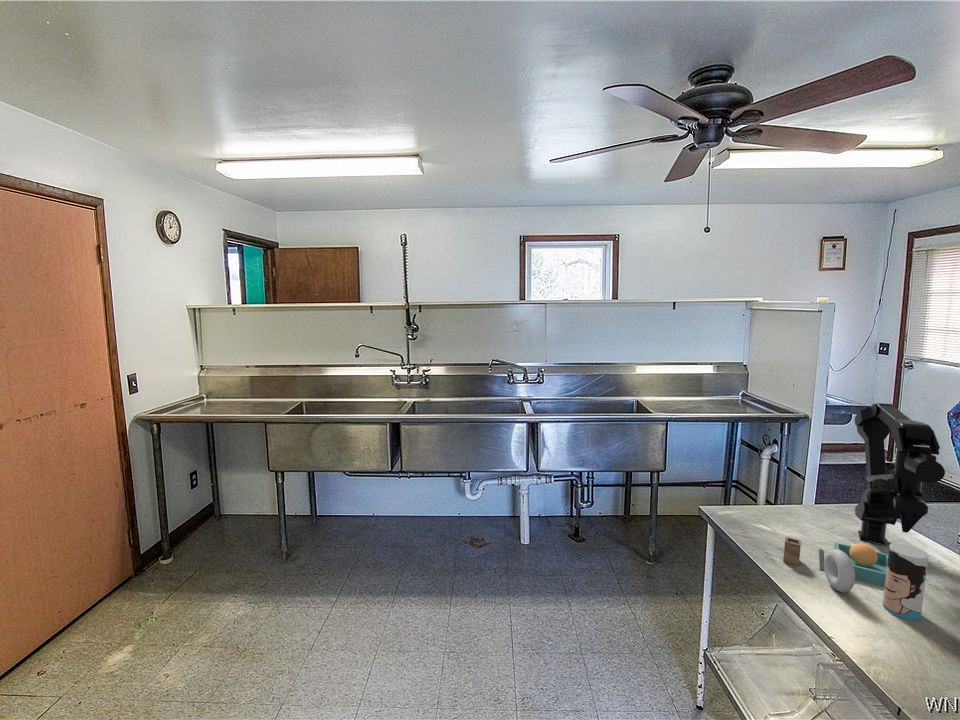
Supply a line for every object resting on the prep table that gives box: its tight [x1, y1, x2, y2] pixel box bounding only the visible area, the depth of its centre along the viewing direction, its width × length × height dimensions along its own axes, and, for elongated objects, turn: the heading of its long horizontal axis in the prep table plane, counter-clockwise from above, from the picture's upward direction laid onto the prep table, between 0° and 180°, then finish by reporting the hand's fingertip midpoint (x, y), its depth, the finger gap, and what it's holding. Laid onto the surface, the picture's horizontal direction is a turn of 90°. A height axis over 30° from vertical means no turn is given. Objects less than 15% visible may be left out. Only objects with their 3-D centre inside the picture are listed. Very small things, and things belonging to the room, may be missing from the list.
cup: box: [882, 542, 930, 621], centre depth 111 cm, size 7×7×15 cm
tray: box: [833, 541, 889, 587], centre depth 129 cm, size 13×12×3 cm
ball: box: [849, 542, 878, 567], centre depth 130 cm, size 6×6×6 cm
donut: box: [824, 548, 856, 593], centre depth 119 cm, size 10×4×10 cm, turn 168°
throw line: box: [818, 548, 825, 572], centre depth 134 cm, size 13×1×1 cm, turn 145°
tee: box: [782, 536, 802, 567], centre depth 133 cm, size 4×4×6 cm
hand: (902, 525), depth 129 cm, fingers open, 9 cm apart
